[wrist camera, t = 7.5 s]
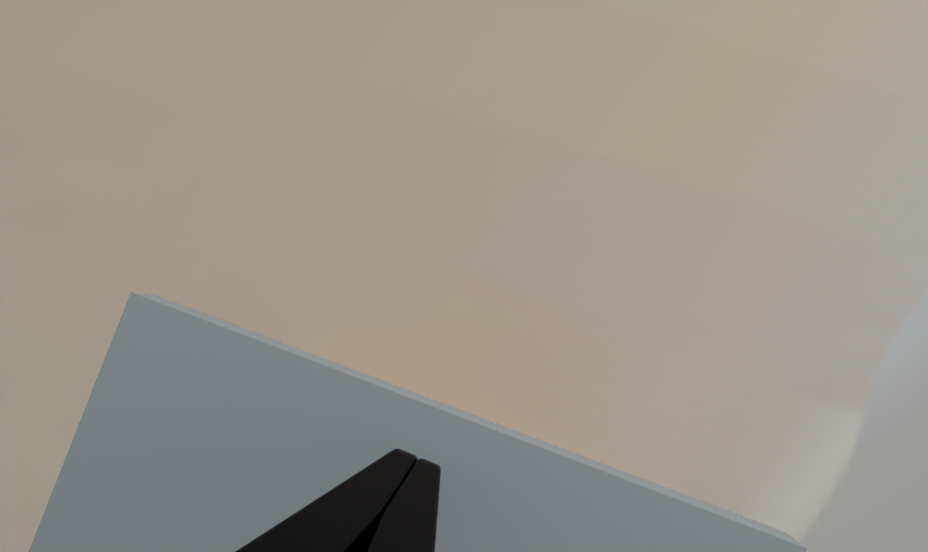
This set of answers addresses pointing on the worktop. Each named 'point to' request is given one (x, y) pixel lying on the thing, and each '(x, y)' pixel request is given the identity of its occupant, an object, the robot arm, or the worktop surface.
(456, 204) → the worktop surface
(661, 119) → the worktop surface
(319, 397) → the box lid
